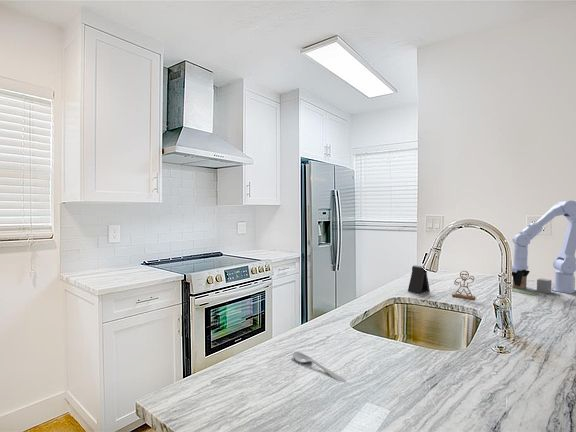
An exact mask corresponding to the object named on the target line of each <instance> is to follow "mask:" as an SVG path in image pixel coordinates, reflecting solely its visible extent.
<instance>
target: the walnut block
mask: <svg viewBox="0 0 576 432" xmlns="http://www.w3.org/2000/svg"><path fill="white" fill-rule="evenodd" d="M527 280H528V275H527V276H522V279H521V284H520V286H516V285H515V284H514V279H513V278H512V285H513V288H517V289H526V287H527V284H528V283H527Z"/></svg>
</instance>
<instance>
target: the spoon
mask: <svg viewBox="0 0 576 432" xmlns="http://www.w3.org/2000/svg"><path fill="white" fill-rule="evenodd" d="M292 357H293V358H294V360H295V361H296V362H298V363H301V364H304V363H313V364H314V365H316V366H317V367H319V368H321V369H322V370H323V371H324V372H326V374H328V375H329V376H330V377H331V378H333V379H334V380H336V381H338V382H341V383H343V384H344V383H347V380H346V379H345V378H344V377H342V376H340V375H339V374H337V373H335V372H334V371H332V370H330V369H328V368H327V367H325V366H324V365H322V364H320V363H318V361H316V360H315V359H313V358H312V357H310V356H309V355H306V354H304V353H302V352H300V351H294V352H293V354H292ZM302 360H304V361H302Z"/></svg>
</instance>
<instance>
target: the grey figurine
mask: <svg viewBox="0 0 576 432" xmlns="http://www.w3.org/2000/svg"><path fill="white" fill-rule="evenodd" d="M459 279H461V281H459V282H458V281H457V280H459ZM467 280H472V281H471V282H467ZM474 280H475V276H474V275H470V274H469V272H468V271H466V270H461V272H460V273H459V277H458V278H456V279H455V280H454V283H453V284H454V285H455V286H458V285H459V287H458V289H457V290H456V292H454V293H453V294H452V296H451V297H452V298H459V299H465V300H471V301H475V300H476V295H473V294H472V292H471V290H470V289H469V284H472V283H473V282H474ZM462 282H463V284H462ZM465 283H466V284H465ZM461 288H463V289H462V291H459V290H460V289H461ZM465 288H466V289H467V291H468V292H467V291H466V290H465ZM463 291H464V293H465V294H464V293H463Z"/></svg>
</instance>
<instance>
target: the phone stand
mask: <svg viewBox="0 0 576 432" xmlns="http://www.w3.org/2000/svg"><path fill="white" fill-rule="evenodd" d="M422 267H423V266H421V265H412V268H411V274H410V280H409V284H408V287H407V288H408V289H407V292H409V293H414V294H418V295H421V294H425V293H428V292H431V289H430V285H429V284H430V283H429V279H428V272H427V271H428V270H427V271H425V270H424V269H423V268H422ZM424 292H425V293H424Z"/></svg>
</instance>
